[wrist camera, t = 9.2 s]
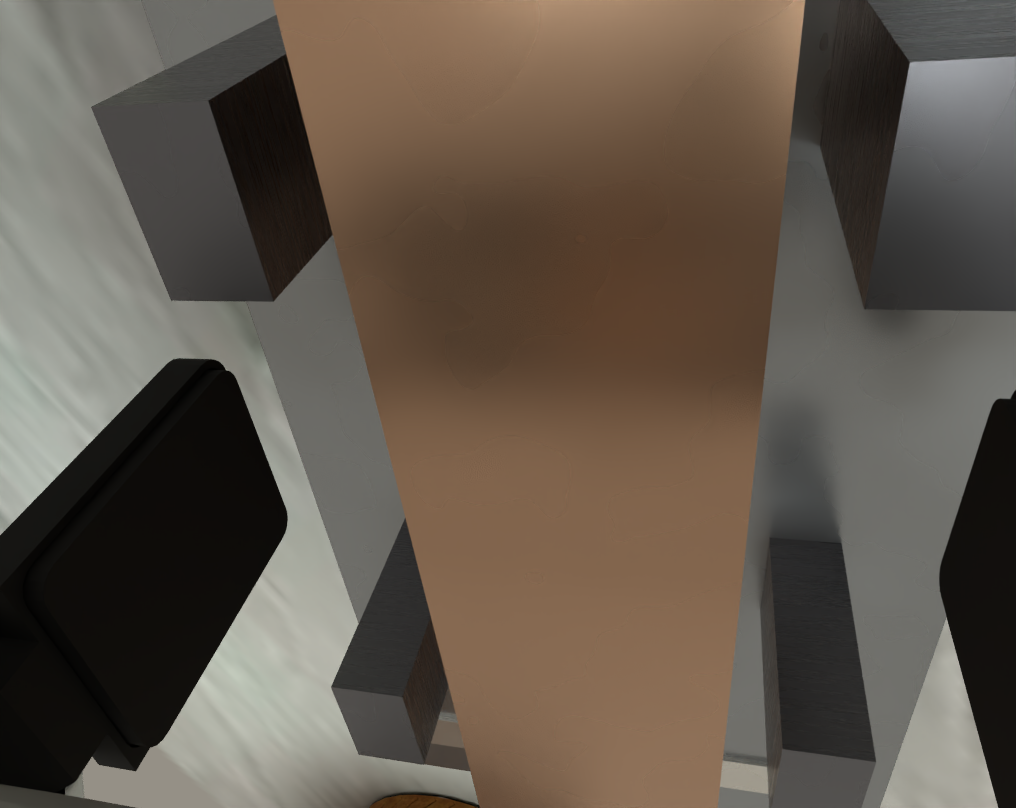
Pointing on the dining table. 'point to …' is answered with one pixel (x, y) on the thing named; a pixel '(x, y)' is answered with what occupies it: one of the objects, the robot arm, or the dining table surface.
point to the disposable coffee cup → (418, 802)
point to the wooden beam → (565, 352)
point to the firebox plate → (787, 381)
